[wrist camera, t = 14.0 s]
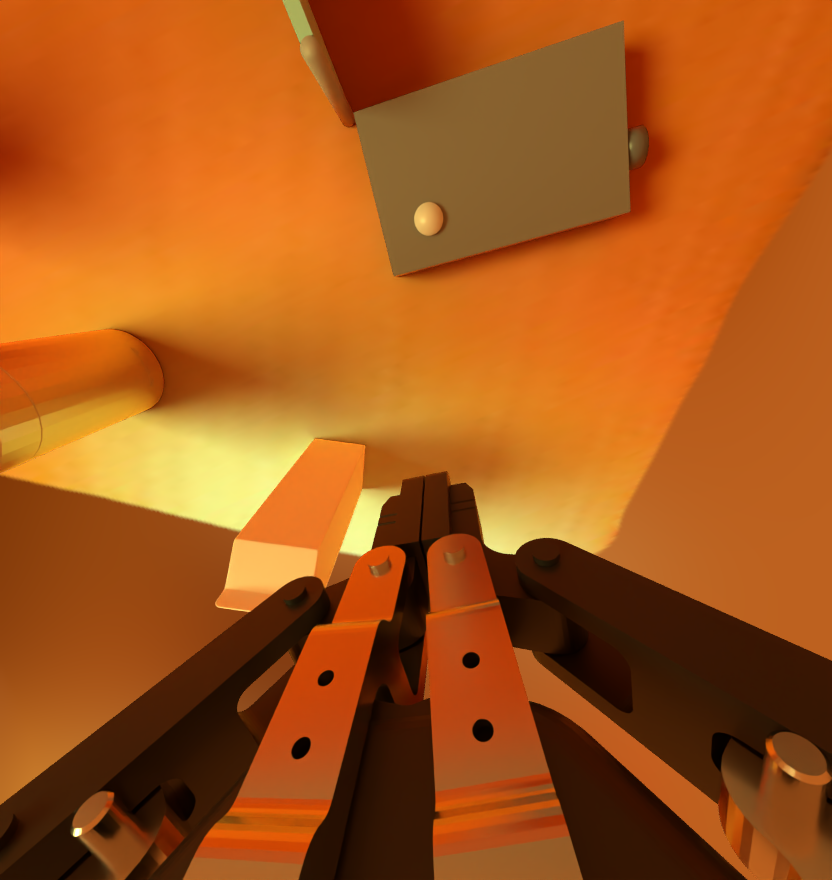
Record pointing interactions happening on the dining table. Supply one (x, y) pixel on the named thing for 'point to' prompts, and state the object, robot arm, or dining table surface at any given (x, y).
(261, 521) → the milk
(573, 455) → the dining table surface
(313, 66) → the door
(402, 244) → the box with round knob
